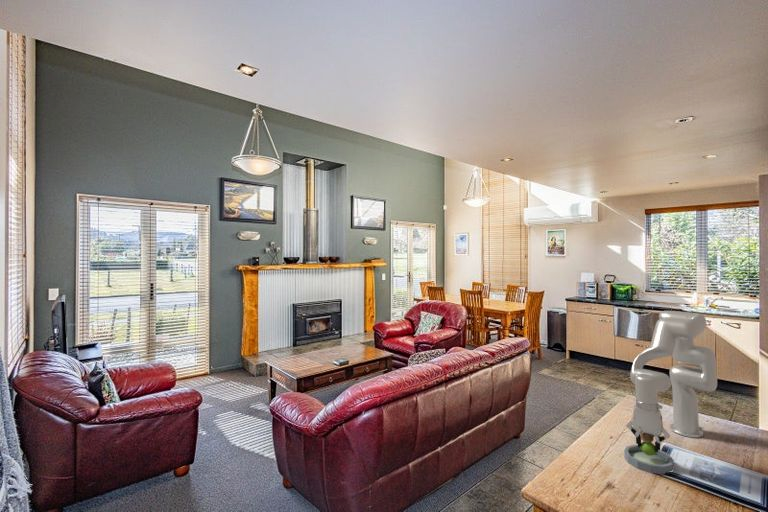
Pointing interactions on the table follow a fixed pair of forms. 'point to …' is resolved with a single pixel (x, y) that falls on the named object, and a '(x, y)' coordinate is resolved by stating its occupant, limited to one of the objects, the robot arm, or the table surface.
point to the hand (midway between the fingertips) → (648, 447)
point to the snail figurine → (647, 443)
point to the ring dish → (648, 460)
